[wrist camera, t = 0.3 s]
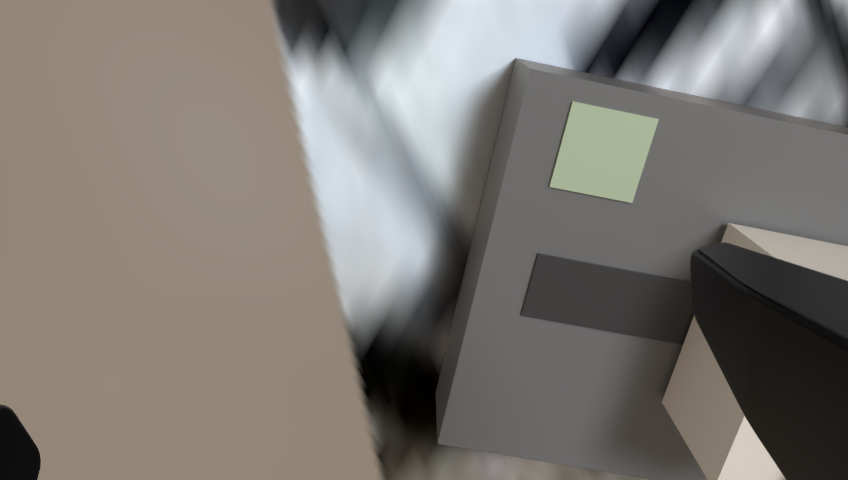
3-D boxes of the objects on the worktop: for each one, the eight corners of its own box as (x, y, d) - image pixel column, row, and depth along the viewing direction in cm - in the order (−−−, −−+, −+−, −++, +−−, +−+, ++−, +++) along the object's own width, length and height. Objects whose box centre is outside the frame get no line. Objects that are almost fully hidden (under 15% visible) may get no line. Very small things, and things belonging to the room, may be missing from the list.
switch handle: (812, 428, 22) (920, 548, 17) (661, 401, 21) (730, 517, 17) (892, 254, 20) (1040, 337, 15) (728, 222, 19) (826, 296, 15)
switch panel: (896, 471, 26) (956, 531, 23) (435, 392, 25) (437, 445, 22) (1055, 171, 22) (1151, 198, 19) (515, 58, 21) (531, 69, 18)
